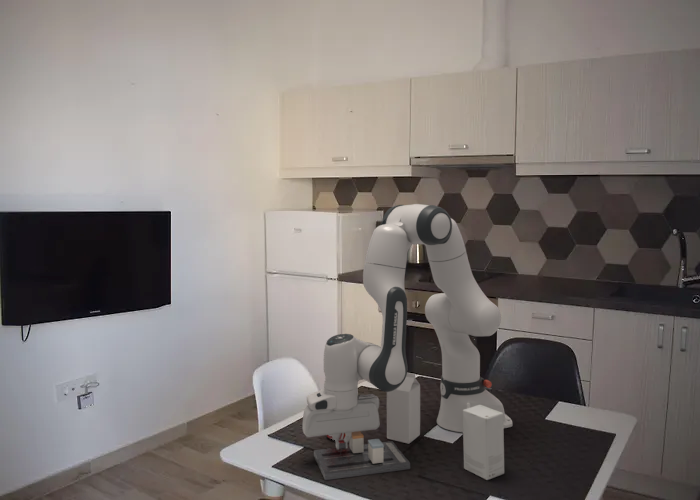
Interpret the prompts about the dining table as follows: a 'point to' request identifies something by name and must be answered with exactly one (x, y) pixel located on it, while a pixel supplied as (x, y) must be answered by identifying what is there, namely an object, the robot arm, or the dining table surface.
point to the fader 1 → (357, 442)
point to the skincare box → (483, 441)
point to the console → (358, 462)
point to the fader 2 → (375, 451)
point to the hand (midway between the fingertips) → (341, 448)
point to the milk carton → (404, 411)
